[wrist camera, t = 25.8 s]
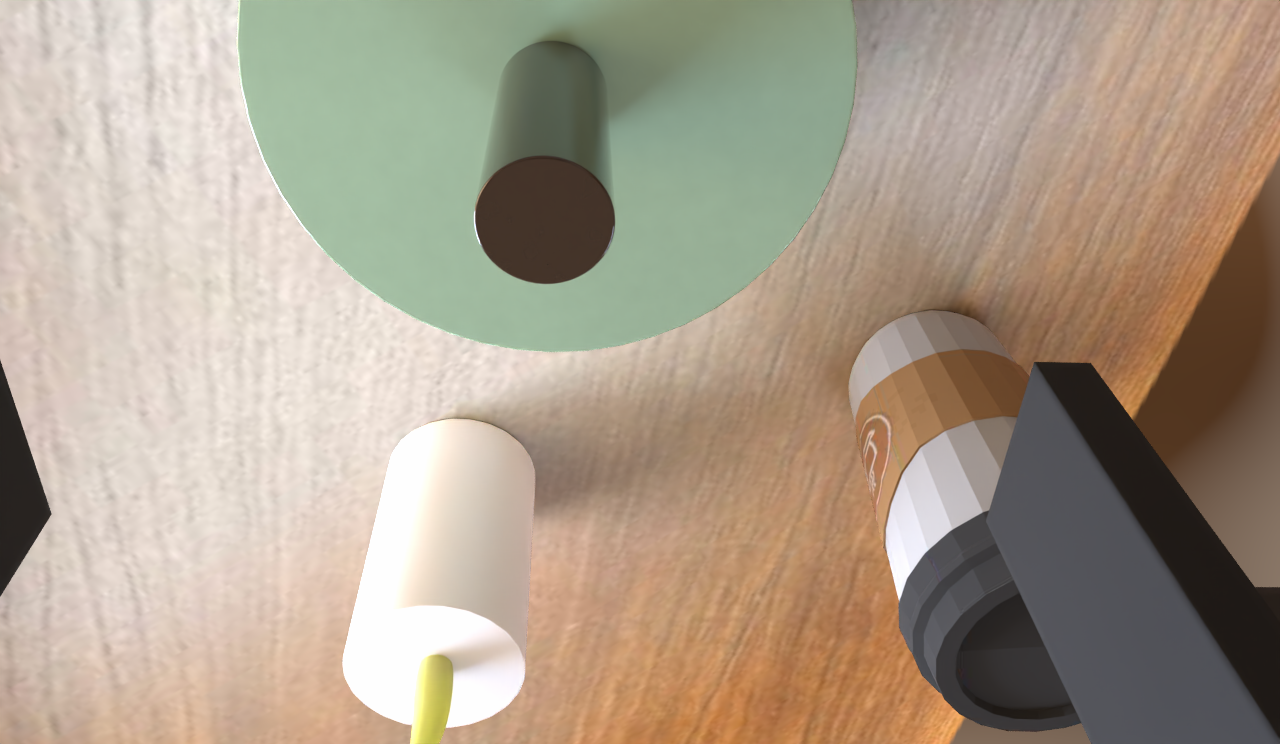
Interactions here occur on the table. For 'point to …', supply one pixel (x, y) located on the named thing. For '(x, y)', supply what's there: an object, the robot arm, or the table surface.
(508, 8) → the lid
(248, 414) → the table surface
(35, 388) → the table surface
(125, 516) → the table surface
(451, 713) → the candle
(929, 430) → the coffee cup
